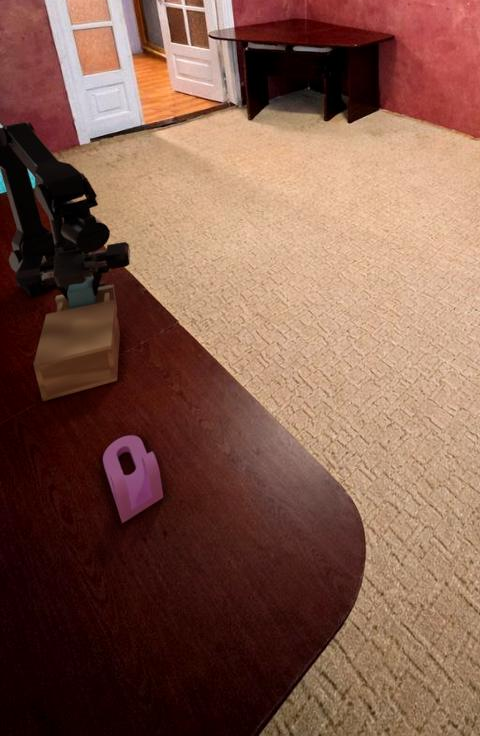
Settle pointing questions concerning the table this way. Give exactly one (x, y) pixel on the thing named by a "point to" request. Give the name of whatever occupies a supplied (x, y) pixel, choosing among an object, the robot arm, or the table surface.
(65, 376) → the cabinet
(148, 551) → the table surface
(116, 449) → the bracket
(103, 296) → the drawer
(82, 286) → the block
